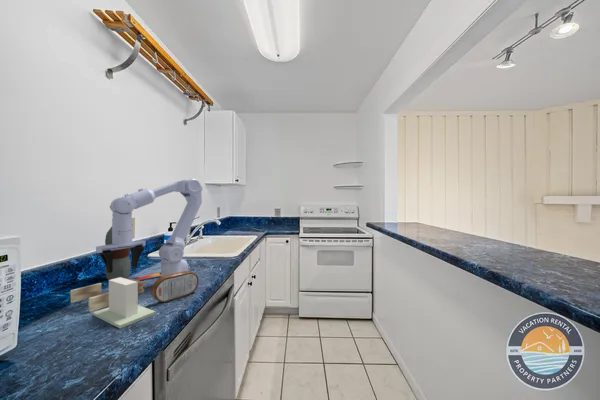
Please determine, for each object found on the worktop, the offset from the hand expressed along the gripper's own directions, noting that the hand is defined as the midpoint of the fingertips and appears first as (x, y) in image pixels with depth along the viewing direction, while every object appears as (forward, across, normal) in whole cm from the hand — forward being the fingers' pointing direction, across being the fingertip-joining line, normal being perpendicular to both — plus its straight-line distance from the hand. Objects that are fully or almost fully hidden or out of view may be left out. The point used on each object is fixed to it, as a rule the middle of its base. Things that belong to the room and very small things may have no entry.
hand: (122, 269), depth 84 cm
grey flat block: (+9, +7, +17) cm, 20 cm away
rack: (+9, +7, -2) cm, 12 cm away
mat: (+9, +7, +17) cm, 21 cm away
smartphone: (+10, -14, -15) cm, 23 cm away
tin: (+10, -8, +19) cm, 23 cm away
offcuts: (+9, -4, -2) cm, 10 cm away
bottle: (+10, -10, -27) cm, 30 cm away
